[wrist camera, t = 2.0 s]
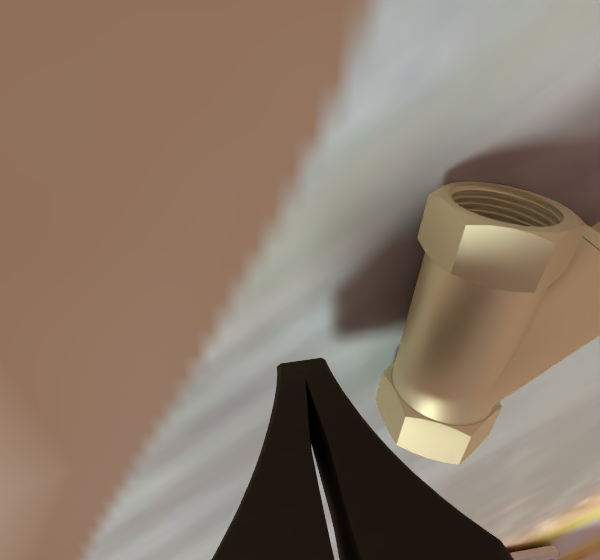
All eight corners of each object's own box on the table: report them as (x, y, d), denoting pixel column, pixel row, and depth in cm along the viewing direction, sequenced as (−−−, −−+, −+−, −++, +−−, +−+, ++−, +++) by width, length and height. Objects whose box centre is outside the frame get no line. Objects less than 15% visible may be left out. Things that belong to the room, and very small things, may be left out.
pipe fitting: (608, 182, 14) (414, 176, 13) (732, 236, 11) (491, 237, 9) (520, 370, 18) (366, 382, 17) (590, 449, 15) (408, 474, 14)
